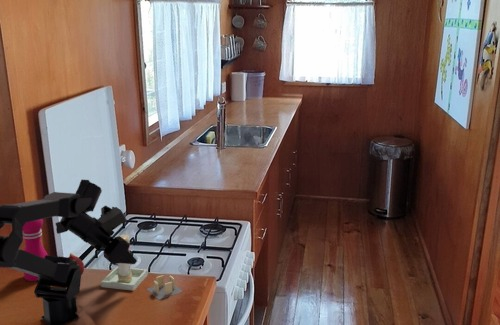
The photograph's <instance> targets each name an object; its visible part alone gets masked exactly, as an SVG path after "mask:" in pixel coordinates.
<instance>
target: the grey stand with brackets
mask: <svg viewBox="0 0 500 325" xmlns="http://www.w3.org/2000/svg"><path fill="white" fill-rule="evenodd" d="M164 276H165V275H164V274H163V275H159V276H156V277H155V278H156V279H155V280H153V286H151V287H149V288H146V291H148V292H149V293H150V294H151V295H153V296H154V298H156V299H157V300H163V299H165V298H168V297H172V296H174V295H177V294H182V293H183V292H184V291H183V290H182V289H180V288H179V287H178V286H177V285H176V283H175V282H176V281H175V278H174V277H173V276H172V275H169V281H167V282H165V277H164Z"/></svg>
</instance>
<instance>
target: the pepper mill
mask: <svg viewBox="0 0 500 325" xmlns="http://www.w3.org/2000/svg"><path fill="white" fill-rule="evenodd" d="M43 224H44V219H40V220H36V221H31V222H27V223H25V225H24V226H23V240H24V243H25V244H24V246H25V248H24V250H23V251H26V252H29V253H31V254H34V255H37V256H40V257H42V258H45V255H48V253H47V251H46V249H45V248H44V246H43V244H42V240H41V236H43V232H42V231H43V230H42V228H43ZM23 278H24V280H25V281H29V282H38V277H37V276H34V275H31V274H27V273H24V272H23Z"/></svg>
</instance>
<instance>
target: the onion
mask: <svg viewBox="0 0 500 325" xmlns="http://www.w3.org/2000/svg"><path fill="white" fill-rule="evenodd" d="M68 258H70V259H71V260H76V261H77V262H76V264H78V265H79V267H80V268H79V269H80V270H81V276H82V275H83V274H84V272H85V263H84V261H82V259H81V258H79V257H78V256H76V255H74V254H73V253H72V252H70V253H69V256H68Z"/></svg>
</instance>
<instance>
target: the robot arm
mask: <svg viewBox="0 0 500 325" xmlns="http://www.w3.org/2000/svg"><path fill="white" fill-rule="evenodd" d="M102 191H103V190H102V188H101V186H99V185H97V184H95V183H94V182H91V181H90V179H81V180H80V182H79V184H78V187H77V190H76V191H75V193H71V192H60V191H53V192H51V193H48V194H45V196H44V198H42V199H37V200H32V201H26V202H18V203H11V204H9V203H8V204H7V203H4V204H1V205H0V229H2V228H4V226H5V225H10V226H11V232H10V233H9V235H8V236H3V235H0V268H5V269H6V268H8V269H11V270H15V271H16V272H17V271H18V272H21V273H23V274H24V273H27V274H31V275H34V276H37V277H38V280H37V283H36V285H35V288H34V290H33V293H34V295H35V298H37V299H39V298H40V299H42V307H43V316H41V320H42V321H43V322H44V323H46V325H66V324H69V323H71V322H74V321H75V320H78V319H80V315H79V314H78V304H77V297H76V296H77V295H78V294H79V293H80V288H81V281H82V275H81V270H80V269H79V268H80V267H79V265H78V264H76V262H77V261H76V260H71V259H70V258H68V257H69V256H68V257H65V256H55V255H49V254H47V255H45V258H42V257H40V256H37V255H34V254H31V253H29V252H26V251H24V250H23V249H21V245H22V243H23V242H24V238H23V226H24V225H25V223H27V222H31V221H36V220H40V219H42V220H44V219H49V218H53V217H57V218H58V217H60V218H61V219H60V220H59V221H58V222H55V226H56V233H57V235H58V234H59V235H60V234H63V233H66V232H68V231H69V232H71V233H72V234H74V235H75V236H77V237H78V238H80V239H81V240H82V241H83V242H85V243H86V244H88V245H90V246H92V247H93V248H94V249H95V250H97V251H98V252H100V250H101V249H103V250H104V251H103V257H104V258H105V259H106V260H107V261H108V262H110V263H111V264H113V265H118V263H125V264H130V265H136V263H137V262H138V260H137V259H136V258H135V256H134V255H133V254H132V253H131V252H130V250H129V251H128V248H129V249H130V246H131V243H128V242H127V241H126V240H124V239H123V238H121V237H120V236H119V235H117V236H118V237H117V236H115V237H113V235H114V234H115V231H114V230H115V229H117V228H118V227H119V226H121V225H122V224H125V223H126V222H127V221H128V220H127V217H126V216H125V214H124V212H123V210H122V209H120V208H119V207H117V206H112V207H110V206H107V205H104V206H102V207H101V208H100V217H99V218H96V217H95V216H91V215H90V214H88V213H89V212H94V211H95V208H96V205H97V203H98V202H99V199H100V196H101V195H102Z"/></svg>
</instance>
